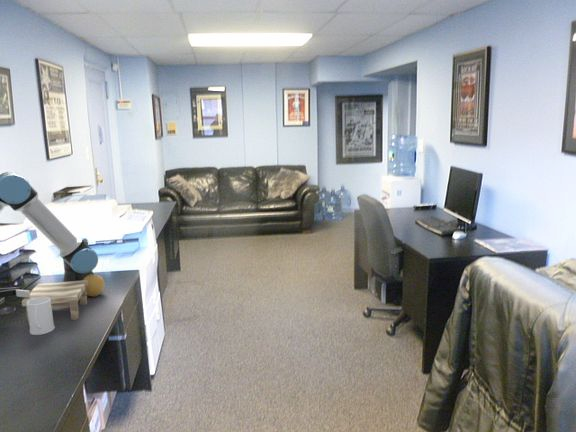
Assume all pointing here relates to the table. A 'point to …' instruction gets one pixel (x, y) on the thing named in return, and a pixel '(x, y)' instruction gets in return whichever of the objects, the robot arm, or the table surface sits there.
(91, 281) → the stress ball
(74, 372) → the table surface
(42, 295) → the footstool
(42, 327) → the mug
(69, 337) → the table surface
